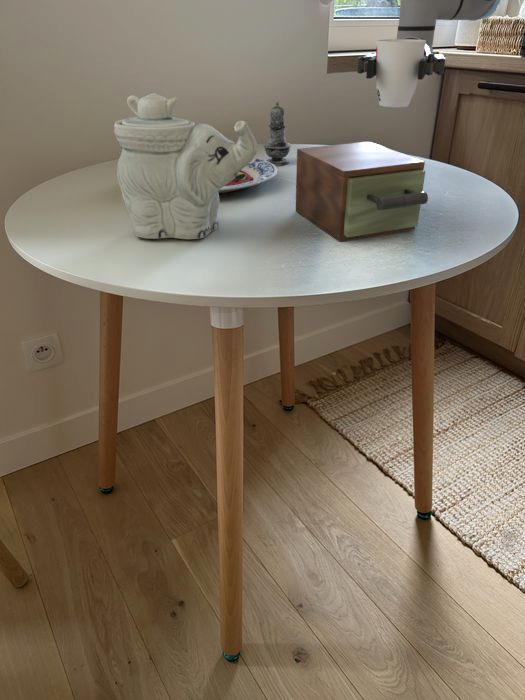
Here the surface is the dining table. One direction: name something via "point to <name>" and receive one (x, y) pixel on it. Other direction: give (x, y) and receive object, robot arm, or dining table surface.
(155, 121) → the teapot
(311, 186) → the cabinet
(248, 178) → the ceramic plate
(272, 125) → the salt shaker
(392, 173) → the drawer
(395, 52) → the cup
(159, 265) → the dining table surface
